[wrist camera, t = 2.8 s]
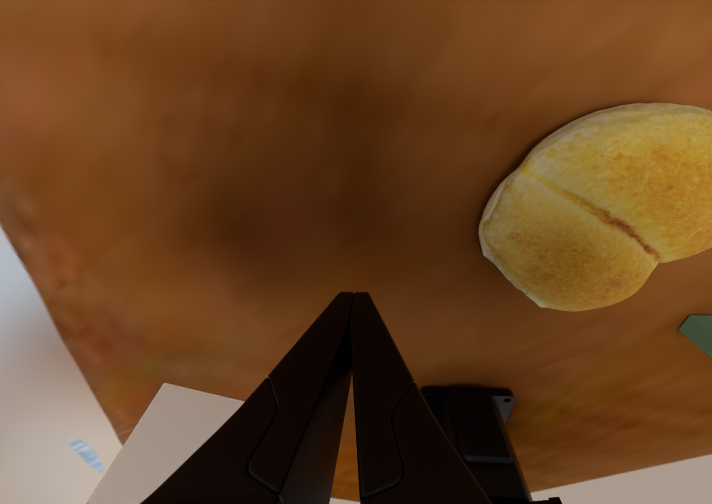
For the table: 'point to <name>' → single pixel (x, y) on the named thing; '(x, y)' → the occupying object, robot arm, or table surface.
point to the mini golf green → (699, 331)
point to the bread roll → (604, 205)
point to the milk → (162, 442)
